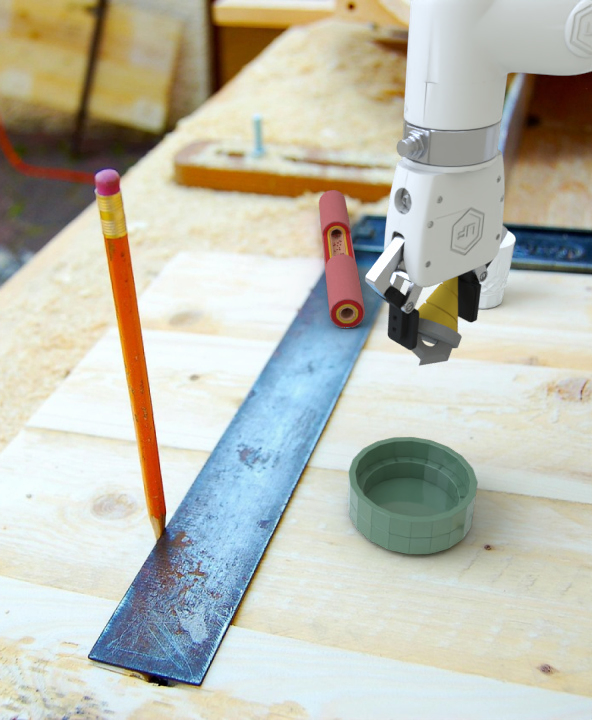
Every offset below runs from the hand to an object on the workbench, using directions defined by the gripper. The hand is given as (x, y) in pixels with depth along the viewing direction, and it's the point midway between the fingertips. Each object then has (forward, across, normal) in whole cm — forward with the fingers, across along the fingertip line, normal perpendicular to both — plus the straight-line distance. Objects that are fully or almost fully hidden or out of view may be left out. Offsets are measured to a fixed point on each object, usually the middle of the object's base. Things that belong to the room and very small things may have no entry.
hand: (432, 328), depth 71 cm
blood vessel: (+20, +27, +47) cm, 58 cm away
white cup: (+20, +36, +24) cm, 48 cm away
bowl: (+20, -4, -2) cm, 20 cm away
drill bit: (+2, 0, 0) cm, 2 cm away
